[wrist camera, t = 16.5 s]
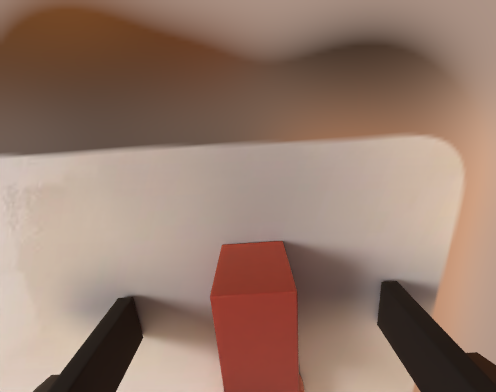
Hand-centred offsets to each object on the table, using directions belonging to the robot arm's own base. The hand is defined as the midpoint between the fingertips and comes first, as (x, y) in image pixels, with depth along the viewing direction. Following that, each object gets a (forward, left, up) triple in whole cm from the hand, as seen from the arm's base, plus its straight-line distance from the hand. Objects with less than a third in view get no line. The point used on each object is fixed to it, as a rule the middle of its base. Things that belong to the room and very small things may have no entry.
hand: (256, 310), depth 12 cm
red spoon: (+2, 0, 0) cm, 2 cm away
